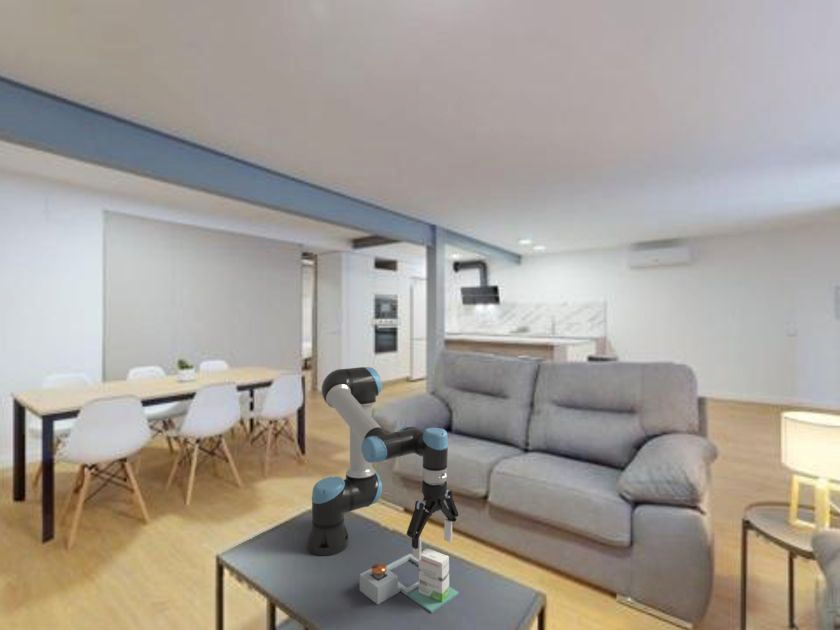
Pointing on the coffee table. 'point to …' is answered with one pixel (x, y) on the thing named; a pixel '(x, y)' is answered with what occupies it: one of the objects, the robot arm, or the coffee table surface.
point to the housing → (386, 582)
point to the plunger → (378, 571)
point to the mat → (431, 599)
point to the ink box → (434, 574)
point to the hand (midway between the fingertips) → (433, 549)
